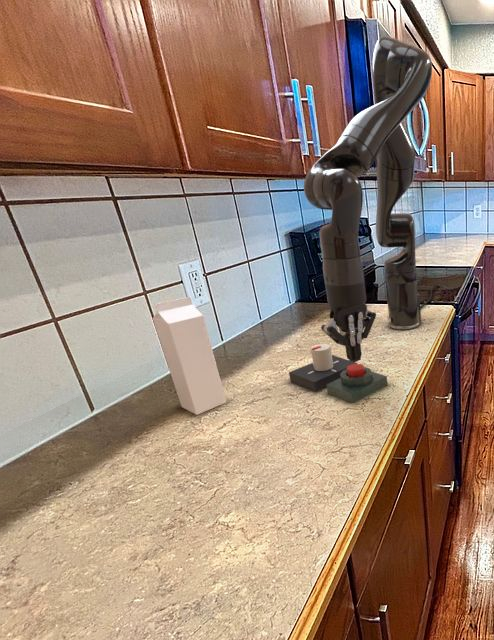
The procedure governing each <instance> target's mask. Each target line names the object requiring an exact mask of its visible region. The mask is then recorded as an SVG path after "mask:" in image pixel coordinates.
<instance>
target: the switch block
mask: <svg viewBox="0 0 494 640" xmlns="http://www.w3.org/2000/svg"><path fill="white" fill-rule="evenodd" d="M364 370H365V375H362V376H359V377H349V376H348V374H347V369H346V370H344V371H342V373H341V374H340V378H339V379H337V380H335V381H333V382H331V383H329V384H326V386H327V387H326V391H327V394H328V395H331V396H332V397H336V398H338V399H341V400H343V401H346V402H348V403H351V404H355V403H356V402H359V401H360V400H362V399H364V398H366V397H368V396H369V395H371V394H373V393H375V392H377V391H380V390H381V389H383V388H384V387H387V386H388V385H389V384H388V378H387V376H386V375H384V374H381V373H377V372H374V371H373V370H372V369H371V368H370V367H366V366H364Z"/></svg>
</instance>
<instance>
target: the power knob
mask: <svg viewBox="0 0 494 640" xmlns="http://www.w3.org/2000/svg"><path fill="white" fill-rule="evenodd" d="M331 347H332V346H331V345H330V344H328V343H319V344H315V345H312V346H310V352H311V359H312V363H313V365H314V369H315V370H316V371H326V370H329V369H331V368H333V360H332V355H333V353H332V348H331Z"/></svg>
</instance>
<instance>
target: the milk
mask: <svg viewBox="0 0 494 640" xmlns="http://www.w3.org/2000/svg"><path fill="white" fill-rule="evenodd" d="M154 306H155V309H156V313H155V314H154V316H153V317H152V321H153V324H154V327H155V330H156V333H157V336H158V340H159V342H160V345H161V348H162V351H163V354H164V358H165V361H166V365H167V367H168V370H169V373H170V376H171V379H172V383H173V385H174V388H175V392H176V394H177V397H178V400H179V404H180V407H181V408H182V409H185V410H187V411H188V412H190V413H192V414H194V415H196V416H198V415H200V414H203V413H205V412H207V411H210V410H212V409H214V408H217V407H219V406H222V405H224V404H226V403H227V398H226V395H225V391H224V387H223V384H222V381H221V376H220V372H219V369H218V365H217V362H216V359H215V354H214V351H213V348H212V344H211V340H210V335H209V333H208V329H207V325H206V322H205V319H204V314H202V313H201V311H199V310H198V308H197V307H196V306H195V305H194V304H193V301H192V298H191V297H190V296H185V297H182V298H177V299H172V300H167V301H163V302H158V303H156V304H154Z"/></svg>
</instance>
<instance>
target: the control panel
mask: <svg viewBox="0 0 494 640" xmlns="http://www.w3.org/2000/svg"><path fill="white" fill-rule="evenodd" d="M332 360H333V368H331V369H329V370H326V371H316V370H315V369H314V365H313V362H311V363H309V364H306V365H304V366H301V367H299V368H295V369H293V370H291V371H288V375H289V380H290V383H291V384H294V385H297V386H300V387H302V388H304V389H308V390H309V391H312V392H315V393H317V392H320V391H322V390H324V389H327V386H326V384H329V383H331V382H333V381H335V380H337V379H339V378H340V374H341V373H342V371H344V370H346V369H347V367H348V366H349V365H352V364H358V362H352V361H350V360H349V359H347V358H343V357H339V356H336V355H334V354H332Z"/></svg>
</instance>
